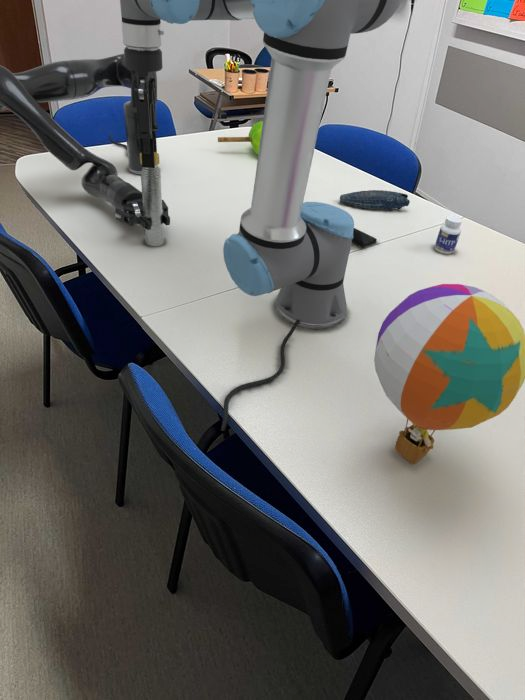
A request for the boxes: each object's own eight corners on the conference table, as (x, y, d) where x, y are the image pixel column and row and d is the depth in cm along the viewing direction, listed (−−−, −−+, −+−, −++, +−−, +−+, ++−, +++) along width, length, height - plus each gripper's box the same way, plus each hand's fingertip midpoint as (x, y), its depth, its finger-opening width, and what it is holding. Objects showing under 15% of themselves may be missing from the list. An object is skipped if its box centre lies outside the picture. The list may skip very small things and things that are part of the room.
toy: (323, 444, 83) (359, 283, 64) (398, 394, 94) (448, 243, 75) (425, 531, 72) (504, 368, 53) (497, 463, 83) (584, 307, 64)
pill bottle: (433, 251, 139) (442, 220, 133) (435, 243, 143) (444, 213, 137) (453, 256, 138) (464, 225, 132) (454, 247, 142) (465, 217, 136)
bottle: (156, 236, 134) (151, 151, 121) (167, 242, 132) (163, 156, 119) (141, 241, 132) (135, 155, 118) (153, 248, 129) (147, 160, 116)
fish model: (408, 214, 157) (412, 198, 153) (339, 207, 158) (341, 191, 154) (406, 206, 162) (410, 190, 159) (339, 199, 163) (341, 183, 160)
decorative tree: (215, 117, 188) (295, 117, 193) (215, 147, 195) (292, 146, 200) (221, 131, 174) (307, 131, 180) (221, 163, 181) (304, 161, 186)
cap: (139, 159, 120) (139, 151, 119) (158, 159, 121) (158, 150, 120) (141, 166, 117) (140, 157, 116) (160, 166, 118) (160, 157, 117)
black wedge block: (381, 233, 141) (372, 211, 133) (369, 255, 140) (359, 235, 132) (344, 225, 147) (334, 203, 139) (333, 246, 146) (321, 226, 138)
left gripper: (99, 190, 130) (131, 215, 120) (150, 180, 138) (184, 203, 128) (102, 218, 135) (133, 244, 125) (151, 207, 142) (184, 231, 132)
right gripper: (156, 56, 98) (162, 178, 113) (165, 41, 112) (169, 152, 126) (116, 53, 98) (127, 176, 112) (130, 39, 111) (138, 150, 126)
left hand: (158, 223), depth 126 cm, fingers closed on bottle, 4 cm apart
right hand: (149, 163), depth 119 cm, fingers closed on cap, 4 cm apart
